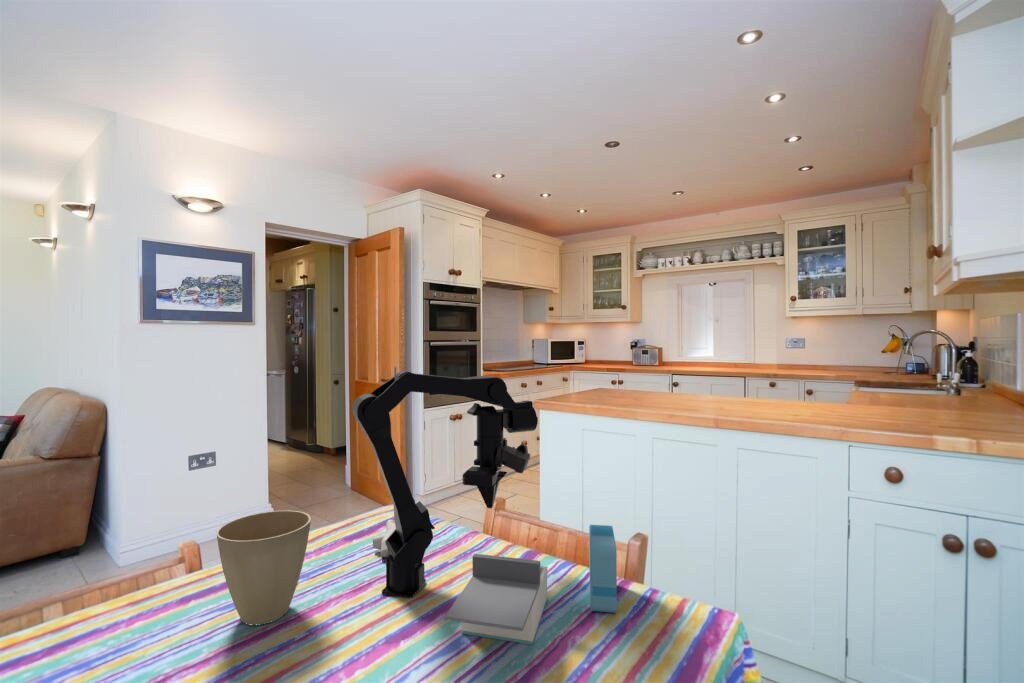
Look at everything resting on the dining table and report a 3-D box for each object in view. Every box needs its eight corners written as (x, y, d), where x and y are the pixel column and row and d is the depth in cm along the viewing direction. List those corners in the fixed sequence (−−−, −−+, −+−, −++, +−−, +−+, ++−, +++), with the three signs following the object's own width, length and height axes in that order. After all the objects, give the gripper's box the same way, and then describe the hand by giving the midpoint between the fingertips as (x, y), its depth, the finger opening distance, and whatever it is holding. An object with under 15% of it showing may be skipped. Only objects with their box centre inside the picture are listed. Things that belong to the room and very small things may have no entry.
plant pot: (328, 602, 88) (328, 516, 88) (255, 649, 74) (255, 547, 74) (273, 585, 94) (273, 505, 94) (196, 625, 80) (196, 531, 81)
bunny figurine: (367, 543, 104) (383, 512, 119) (368, 565, 105) (383, 531, 120) (410, 543, 105) (420, 511, 120) (410, 564, 105) (421, 530, 120)
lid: (445, 619, 71) (445, 593, 71) (474, 575, 85) (474, 553, 85) (522, 631, 68) (522, 603, 68) (540, 584, 82) (540, 560, 82)
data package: (616, 616, 83) (616, 548, 83) (590, 614, 84) (590, 546, 84) (612, 582, 95) (611, 523, 95) (589, 581, 96) (589, 522, 96)
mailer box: (461, 633, 78) (461, 597, 78) (486, 590, 92) (486, 559, 92) (532, 644, 75) (532, 606, 75) (547, 598, 89) (547, 566, 89)
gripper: (516, 445, 90) (516, 527, 90) (535, 428, 108) (535, 497, 108) (461, 442, 93) (461, 522, 93) (488, 427, 111) (488, 493, 111)
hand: (490, 507), depth 101 cm, fingers closed
